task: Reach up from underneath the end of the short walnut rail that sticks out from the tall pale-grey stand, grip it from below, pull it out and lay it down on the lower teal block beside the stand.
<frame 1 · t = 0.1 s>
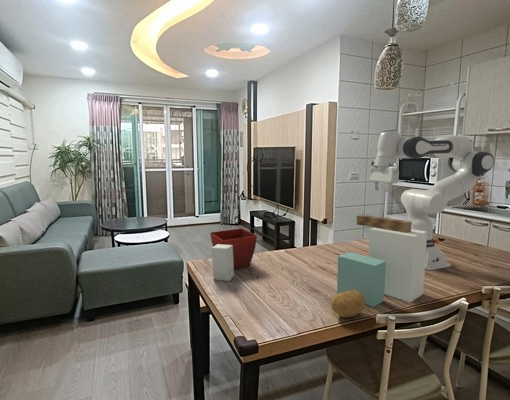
hand: (381, 191, 156), 39 cm above the table, tool pointing down, fingers open, 8 cm apart
rail: (382, 227, 134), point 26 cm above the table, touching stand
skincare box: (223, 278, 148), on the table
teal box: (359, 297, 127), on the table
stand: (394, 291, 132), on the table
plant pot: (233, 265, 167), on the table
potato: (347, 315, 112), on the table
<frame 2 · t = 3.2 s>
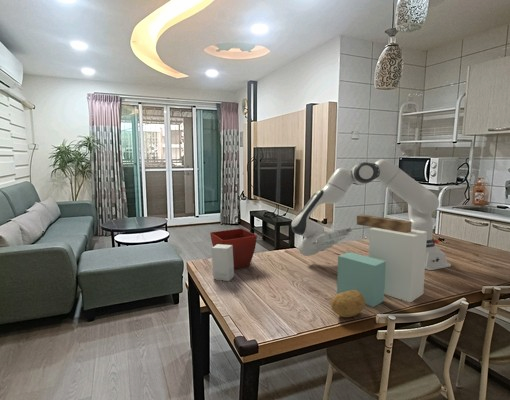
hand: (345, 230, 148), 22 cm above the table, tool pointing upward, fingers open, 8 cm apart
nothing on the table moved.
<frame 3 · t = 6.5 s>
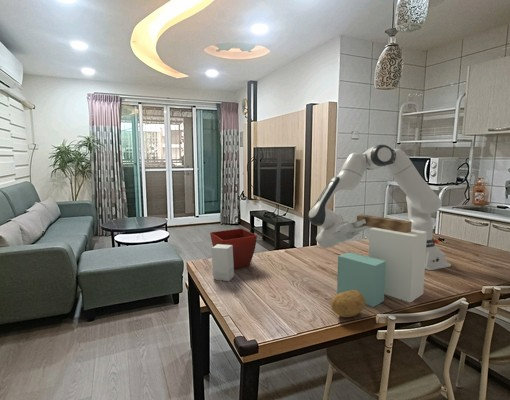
hand: (369, 219, 138), 28 cm above the table, tool pointing upward, fingers closed on rail, 4 cm apart
rail: (382, 227, 134), point 26 cm above the table, touching gripper, stand
everything else where it was.
when the fingers open (20 cm above the table, at t = 16.0 s): rail drops 2 cm, resting on teal box.
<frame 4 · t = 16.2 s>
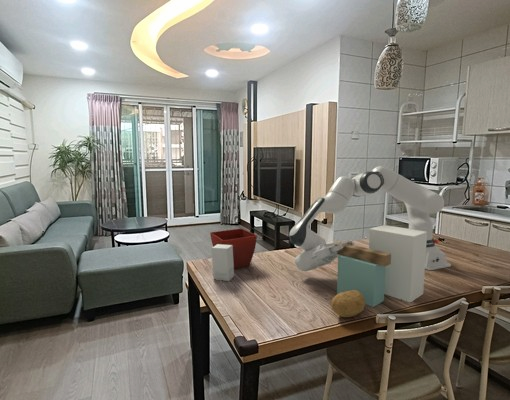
hand: (347, 244, 129), 20 cm above the table, tool pointing upward, fingers open, 6 cm apart
rail: (360, 258, 125), point 16 cm above the table, touching teal box
everything else where it was.
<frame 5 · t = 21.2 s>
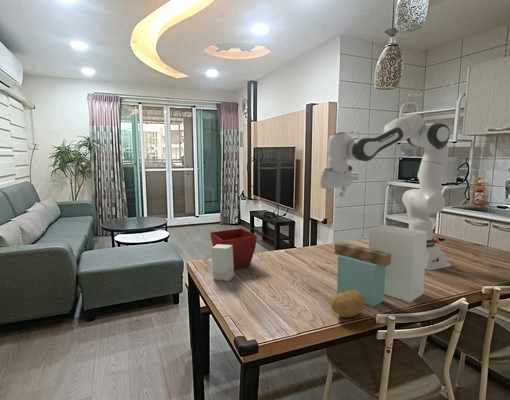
hand: (336, 197, 150), 37 cm above the table, tool pointing down, fingers open, 8 cm apart
nothing on the table moved.
at the end: rail inside the target area (0.2 cm from its centre), point 16.0 cm above the table; rail touching teal box; the gripper is holding nothing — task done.
